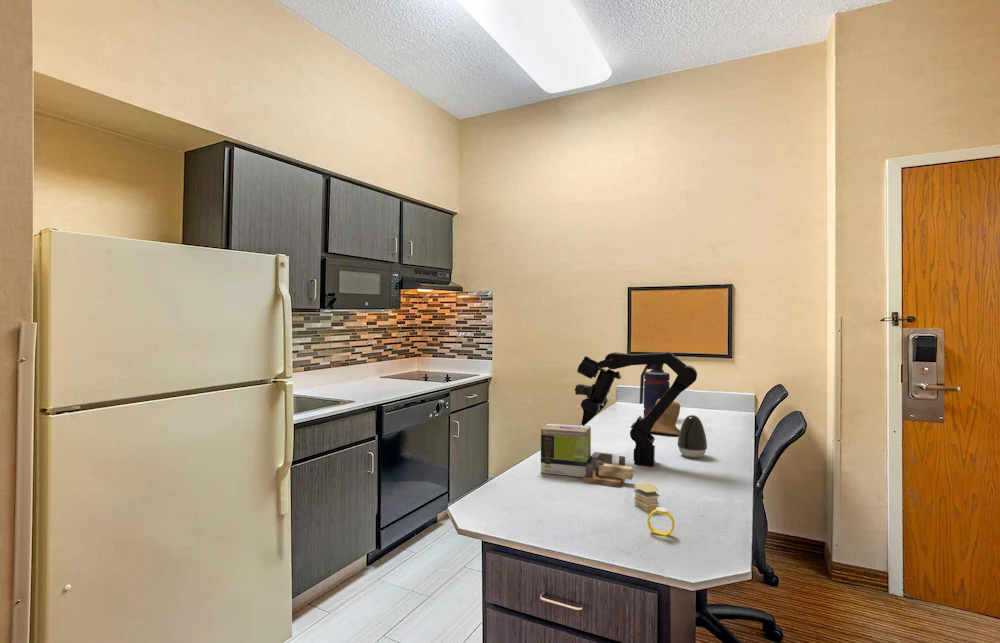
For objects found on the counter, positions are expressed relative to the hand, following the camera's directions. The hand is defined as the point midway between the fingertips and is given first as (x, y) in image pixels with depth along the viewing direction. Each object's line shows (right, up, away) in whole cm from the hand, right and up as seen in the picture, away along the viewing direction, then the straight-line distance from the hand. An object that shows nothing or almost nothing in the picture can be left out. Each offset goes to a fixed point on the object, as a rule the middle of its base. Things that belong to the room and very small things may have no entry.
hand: (585, 422), depth 183 cm
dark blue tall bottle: (+45, -12, +64) cm, 79 cm away
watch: (+7, -13, -65) cm, 67 cm away
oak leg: (+4, -11, -28) cm, 31 cm away
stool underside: (+3, -12, -23) cm, 27 cm away
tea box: (-10, -12, -18) cm, 24 cm away
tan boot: (+41, -13, +39) cm, 58 cm away
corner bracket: (+2, -11, -19) cm, 22 cm away
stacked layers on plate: (+8, -13, -48) cm, 50 cm away
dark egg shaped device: (+40, -13, +2) cm, 42 cm away
